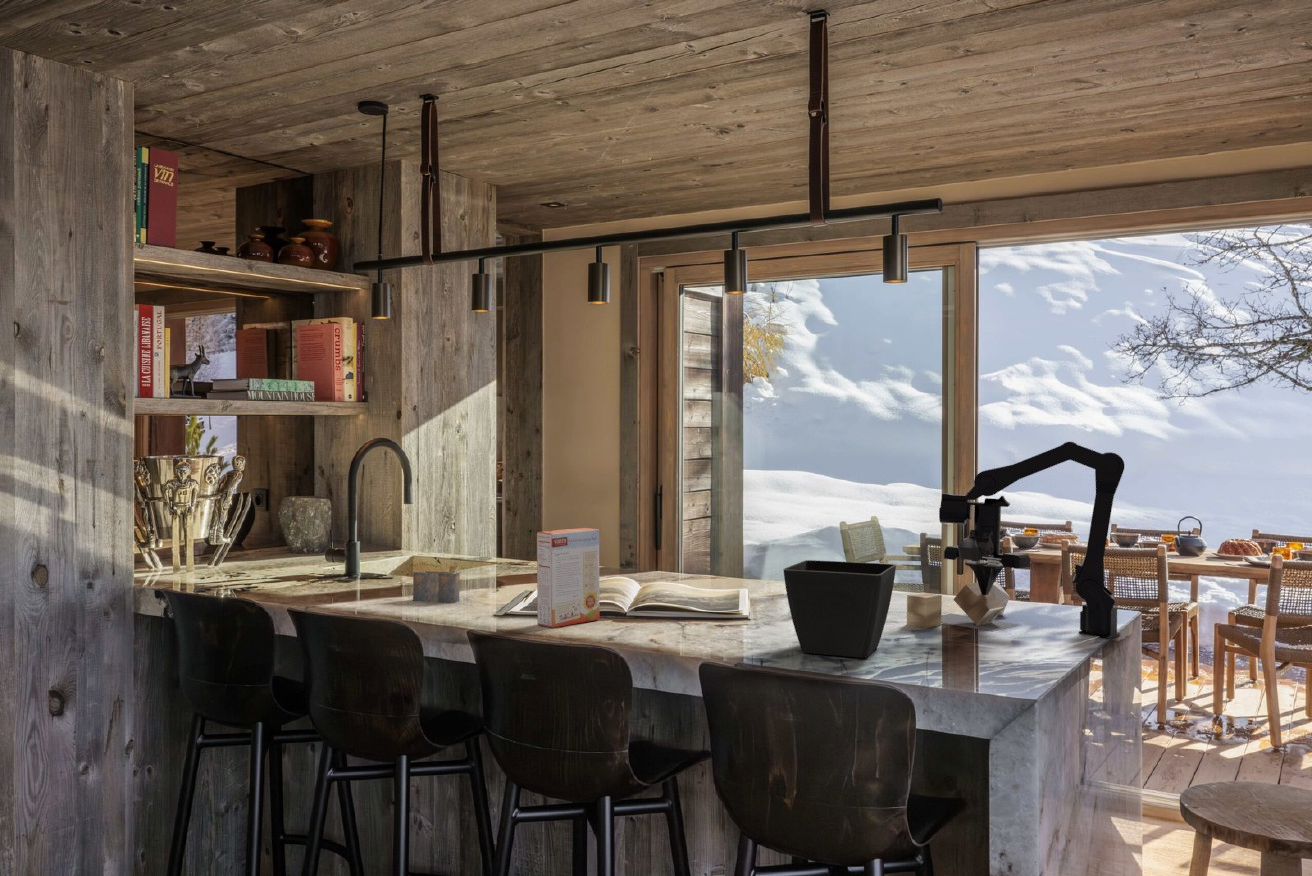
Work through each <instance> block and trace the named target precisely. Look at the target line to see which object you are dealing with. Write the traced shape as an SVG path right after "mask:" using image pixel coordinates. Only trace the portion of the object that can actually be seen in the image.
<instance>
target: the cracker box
mask: <svg viewBox="0 0 1312 876" xmlns="http://www.w3.org/2000/svg"><path fill="white" fill-rule="evenodd" d="M536 565H537V566H536V572H537V573H536V574H537V577H536V578H537V579H536V582H537V585H536V586H537V587H536V588H537V590H536V591H537V602H536V603H537V606H536V607H537V625H538V626H543V627H548V628H552V629H553V628H558V627H564V626H570V625H575V624H580V623H581V624H582V623H588V622H595V621H597V620H598V621H599V620H600V613H601V612H600V529H597V528H590V527H580V528H567V529H554V530H545V531H537V532H536Z"/></svg>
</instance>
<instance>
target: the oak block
mask: <svg viewBox="0 0 1312 876" xmlns="http://www.w3.org/2000/svg"><path fill="white" fill-rule="evenodd" d="M906 597H907V598H906V625H907V626H912V627H919V628H924V629H927V628H933V627H937V626H941V625H942V623H941V615H942V599H943V598H942V597H943V596H942V594H936V593H929V592H928V593H927V592H917V593H912V594H910V593H909V594H907V595H906Z"/></svg>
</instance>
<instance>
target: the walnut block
mask: <svg viewBox="0 0 1312 876" xmlns="http://www.w3.org/2000/svg"><path fill="white" fill-rule="evenodd" d="M953 601H954V603H955V604H956V605H957V606H959V608H960V609H961V610H962V611H963V612H964V613H965V614H966V616H969V617H970V618H971V619H972V621H973V622H974V623H975V624H976V625H977V626H979V625H983V624H988V623H992V622H993V621H994V620H995V619H996V618H997V617H998V616H1000V615H999V614H1000V612H1001V611H1002V610H1003V609H1004V608H1005V607H1004V606H1003V605H1002V604H1001V603H1000V602H999V601H998V600H997V599H996V598H995V597H994V596H993V595H992V594H991V593H990V592H989V594H988V595H982V594H981V590H980V587H979V584H978V581H976V582H972V583H965V585H964V586H963V587H962V588H961V589H960V590H959V592H958V593H957V594H956V596H955V597H954V598H953ZM1005 609H1006V608H1005Z"/></svg>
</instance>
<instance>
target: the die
mask: <svg viewBox="0 0 1312 876" xmlns="http://www.w3.org/2000/svg"><path fill="white" fill-rule="evenodd" d="M990 593H991V594H992V595H993V596H994V597H995V598H996V599H997V600H998V601H999V602H1000V603H1001V604H1002V605H1003V606H1004V607H1005V608H1004V609H1003V610H1002V611H1001V612H1000V614H999V615H998V616H1003V614H1004V613H1005V610H1006V607H1007V605H1008V602H1009V600H1010V598H1011V597H1010V595H1009V594H1008V593H1007V592H1006V590H1005V589H1004V588H1003V587H1002V585H1001V584H1000V583H999V582H998V581H995V582H994V584H993V586H992V588H991V590H990Z"/></svg>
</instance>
